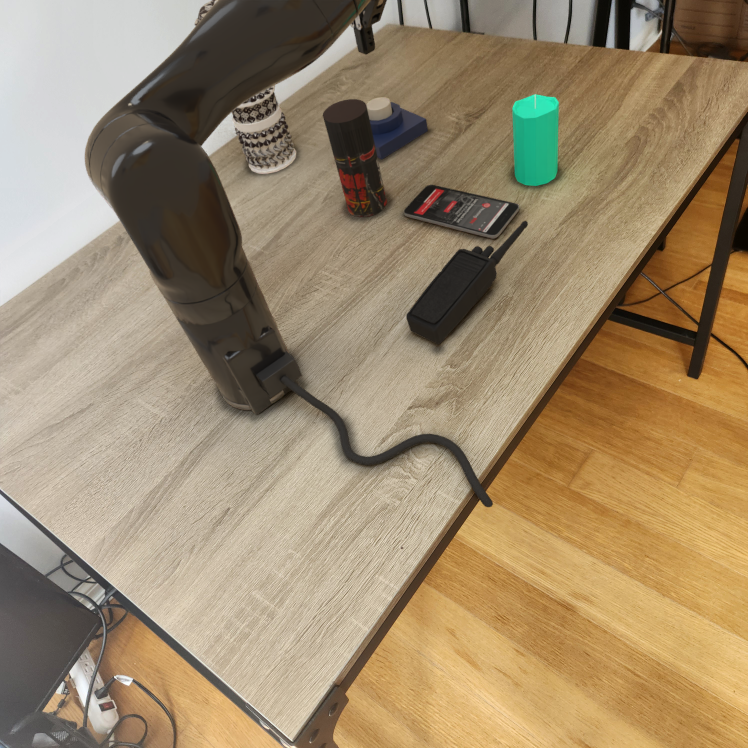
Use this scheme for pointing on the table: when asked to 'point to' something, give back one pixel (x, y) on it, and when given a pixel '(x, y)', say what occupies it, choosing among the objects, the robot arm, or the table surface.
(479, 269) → the walkie-talkie
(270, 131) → the decorative candle
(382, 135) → the dispenser
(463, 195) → the smartphone
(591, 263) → the table surface
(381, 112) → the button
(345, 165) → the deodorant
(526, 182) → the candle
